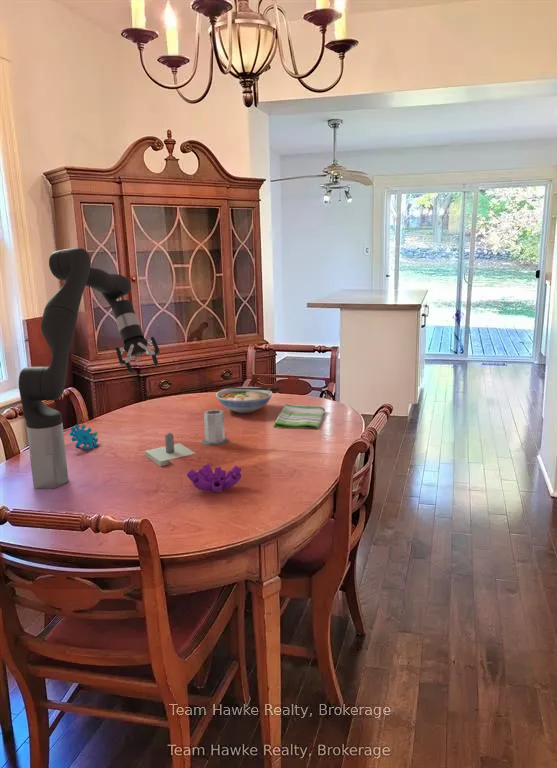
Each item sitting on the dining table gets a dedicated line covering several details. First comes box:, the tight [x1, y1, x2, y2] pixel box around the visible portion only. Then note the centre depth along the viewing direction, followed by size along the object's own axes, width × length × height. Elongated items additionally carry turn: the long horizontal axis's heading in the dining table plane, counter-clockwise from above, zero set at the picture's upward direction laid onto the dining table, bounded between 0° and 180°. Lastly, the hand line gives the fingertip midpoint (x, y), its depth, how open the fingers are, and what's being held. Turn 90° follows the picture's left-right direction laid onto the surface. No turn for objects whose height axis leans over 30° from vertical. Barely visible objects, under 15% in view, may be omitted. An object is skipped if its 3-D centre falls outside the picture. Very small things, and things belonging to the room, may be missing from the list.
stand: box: [200, 437, 229, 447], centre depth 192 cm, size 9×9×8 cm
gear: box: [68, 424, 99, 451], centre depth 194 cm, size 11×6×10 cm
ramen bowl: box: [215, 386, 280, 414], centre depth 233 cm, size 25×23×8 cm
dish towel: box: [273, 403, 326, 429], centre depth 221 cm, size 17×23×4 cm
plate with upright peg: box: [144, 432, 197, 467], centre depth 183 cm, size 12×12×8 cm
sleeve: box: [203, 409, 226, 444], centre depth 192 cm, size 6×6×10 cm
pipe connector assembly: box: [186, 463, 243, 493], centre depth 156 cm, size 11×15×10 cm
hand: (144, 369), depth 202 cm, fingers open, 8 cm apart
